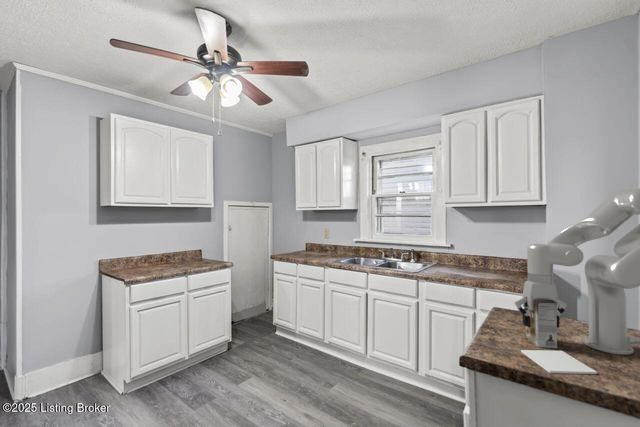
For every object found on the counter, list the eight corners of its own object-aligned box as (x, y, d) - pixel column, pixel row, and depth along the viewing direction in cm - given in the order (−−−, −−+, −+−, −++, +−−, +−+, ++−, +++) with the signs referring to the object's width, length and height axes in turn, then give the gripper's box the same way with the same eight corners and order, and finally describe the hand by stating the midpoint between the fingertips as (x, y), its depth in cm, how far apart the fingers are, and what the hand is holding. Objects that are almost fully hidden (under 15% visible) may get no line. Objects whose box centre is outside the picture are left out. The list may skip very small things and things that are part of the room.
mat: (561, 352, 102) (561, 350, 102) (597, 374, 88) (597, 372, 88) (521, 351, 103) (521, 349, 103) (549, 373, 89) (549, 370, 89)
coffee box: (525, 337, 115) (524, 294, 115) (544, 338, 114) (543, 295, 114) (537, 347, 106) (536, 300, 106) (558, 348, 105) (557, 301, 105)
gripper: (557, 276, 113) (558, 323, 113) (509, 276, 114) (510, 322, 114) (573, 280, 106) (574, 330, 106) (521, 280, 107) (522, 329, 107)
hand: (540, 326), depth 110 cm, fingers open, 9 cm apart
